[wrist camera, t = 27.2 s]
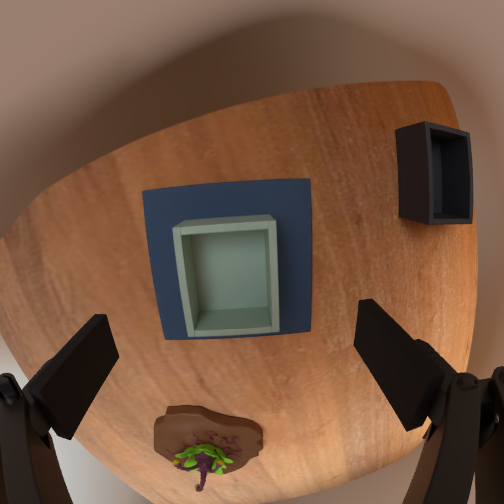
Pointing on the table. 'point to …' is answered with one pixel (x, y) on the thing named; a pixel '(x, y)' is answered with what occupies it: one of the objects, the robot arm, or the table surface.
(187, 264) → the green open bin
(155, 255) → the mat
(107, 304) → the table surface
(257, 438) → the plant
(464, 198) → the bin lower
